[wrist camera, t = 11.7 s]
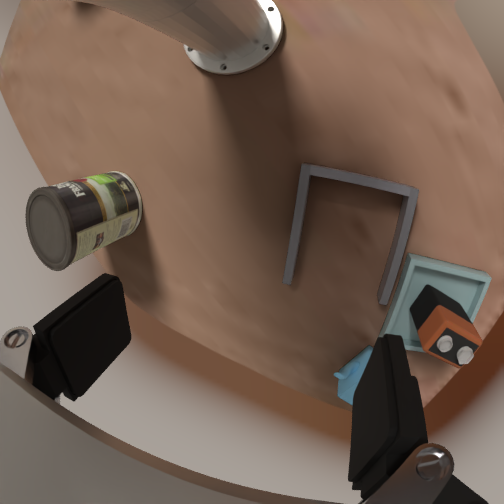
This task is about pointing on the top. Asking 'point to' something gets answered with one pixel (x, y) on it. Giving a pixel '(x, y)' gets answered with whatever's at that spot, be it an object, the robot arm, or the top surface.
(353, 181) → the frame
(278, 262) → the top surface
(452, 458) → the robot arm
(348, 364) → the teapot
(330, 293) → the top surface
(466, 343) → the battery
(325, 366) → the top surface
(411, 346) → the tray
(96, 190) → the coffee can
